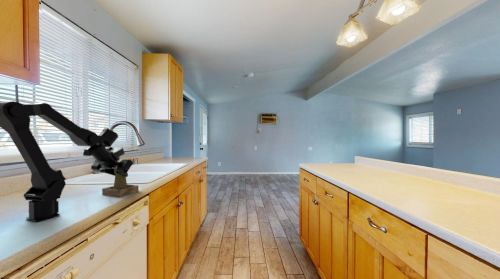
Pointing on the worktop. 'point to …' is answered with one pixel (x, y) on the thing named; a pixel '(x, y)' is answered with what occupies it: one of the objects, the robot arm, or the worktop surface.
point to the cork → (119, 181)
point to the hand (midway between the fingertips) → (122, 175)
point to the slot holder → (120, 191)
